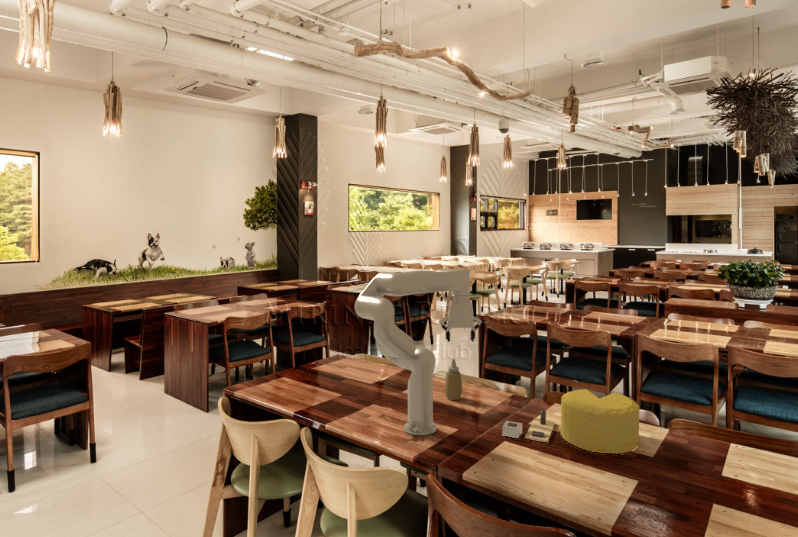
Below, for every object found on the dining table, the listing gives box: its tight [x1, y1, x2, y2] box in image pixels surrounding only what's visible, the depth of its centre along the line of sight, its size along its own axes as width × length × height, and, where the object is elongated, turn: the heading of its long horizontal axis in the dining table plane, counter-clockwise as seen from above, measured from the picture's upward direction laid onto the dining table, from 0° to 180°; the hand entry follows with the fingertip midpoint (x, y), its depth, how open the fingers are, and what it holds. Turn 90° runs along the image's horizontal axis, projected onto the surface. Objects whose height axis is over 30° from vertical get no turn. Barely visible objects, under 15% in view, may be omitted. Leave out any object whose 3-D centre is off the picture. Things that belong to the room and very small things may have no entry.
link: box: [501, 420, 523, 438], centre depth 180 cm, size 6×6×4 cm
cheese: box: [560, 388, 640, 454], centre depth 176 cm, size 26×26×15 cm
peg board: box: [524, 409, 556, 444], centre depth 183 cm, size 20×8×6 cm, turn 155°
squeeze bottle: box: [444, 358, 463, 401], centre depth 220 cm, size 8×8×18 cm
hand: (460, 340), depth 198 cm, fingers open, 9 cm apart
